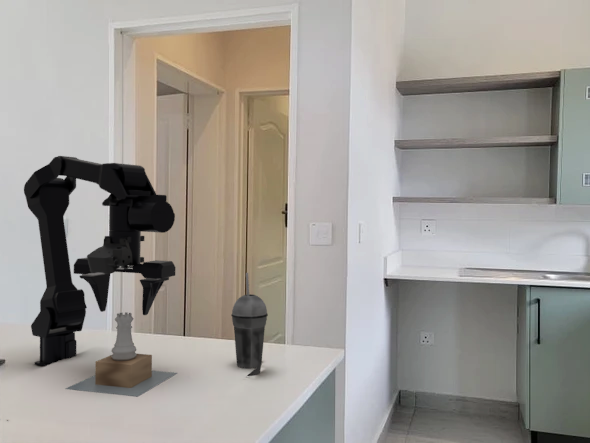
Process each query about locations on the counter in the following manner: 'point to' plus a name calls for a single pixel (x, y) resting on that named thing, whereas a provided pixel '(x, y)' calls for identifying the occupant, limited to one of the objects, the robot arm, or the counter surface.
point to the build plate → (134, 391)
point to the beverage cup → (249, 330)
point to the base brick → (123, 371)
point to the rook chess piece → (124, 339)
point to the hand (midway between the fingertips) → (123, 313)
